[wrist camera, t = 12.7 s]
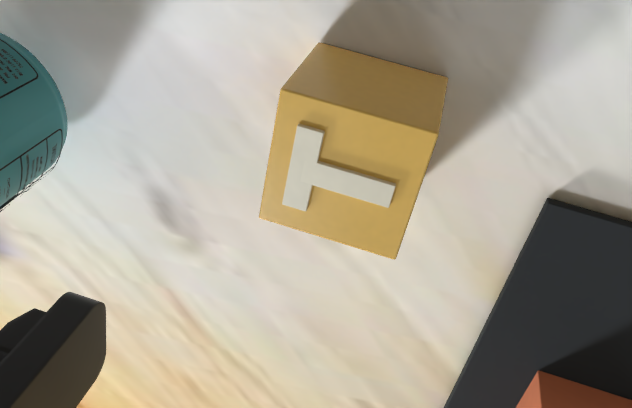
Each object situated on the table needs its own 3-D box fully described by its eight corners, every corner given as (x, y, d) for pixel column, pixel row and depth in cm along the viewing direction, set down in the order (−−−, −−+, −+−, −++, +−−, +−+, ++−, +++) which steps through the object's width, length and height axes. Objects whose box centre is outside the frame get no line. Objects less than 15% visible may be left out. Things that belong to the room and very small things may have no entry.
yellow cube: (318, 41, 21) (278, 89, 17) (448, 77, 20) (438, 135, 16) (295, 155, 23) (256, 221, 19) (411, 189, 23) (394, 263, 19)
